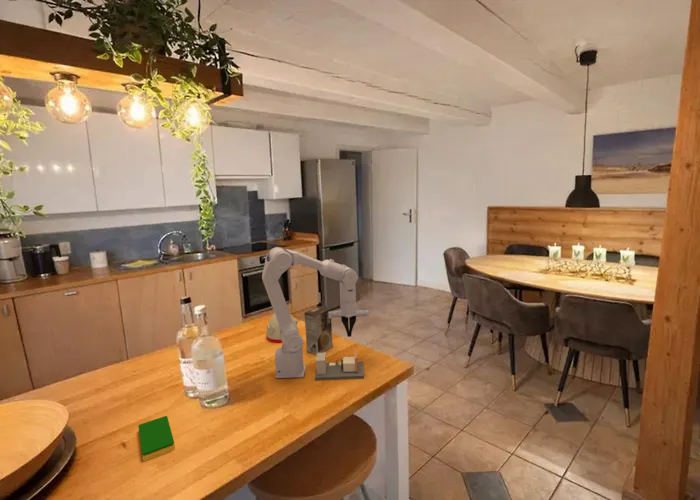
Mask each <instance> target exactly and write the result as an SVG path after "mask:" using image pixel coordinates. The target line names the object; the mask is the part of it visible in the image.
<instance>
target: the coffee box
mask: <svg viewBox="0 0 700 500" xmlns="http://www.w3.org/2000/svg"><path fill="white" fill-rule="evenodd" d="M330 311H331V308H328V307H325V306H322V305H321V306H320V305H318V306H316V307H314V308H312V309H310V310H307V311H306V312H304V326H305V341H306V351H307V352H308V353H311V354H314V355H317V353H325V352H326V351H327V350H329V349H331V348H332V347H333V345H334V344H333V328H332V318H329V315H328V313H329V312H330Z"/></svg>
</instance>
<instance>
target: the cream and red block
mask: <svg viewBox="0 0 700 500" xmlns="http://www.w3.org/2000/svg"><path fill="white" fill-rule="evenodd" d="M353 351H354V356H343V357H342V358H343V359H340V362H341V369H343V372H354V371H355V372H358V369H357V362H358V351H357V349H354V350H353Z"/></svg>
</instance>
